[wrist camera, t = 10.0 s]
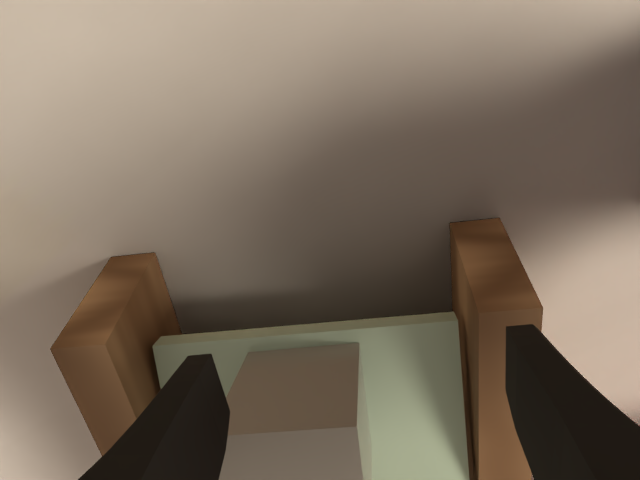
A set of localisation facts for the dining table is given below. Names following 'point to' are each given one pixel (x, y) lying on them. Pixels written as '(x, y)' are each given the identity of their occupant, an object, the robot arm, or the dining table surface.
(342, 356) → the granite block
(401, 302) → the dining table surface
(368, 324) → the trapdoor
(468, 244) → the frame
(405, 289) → the dining table surface
